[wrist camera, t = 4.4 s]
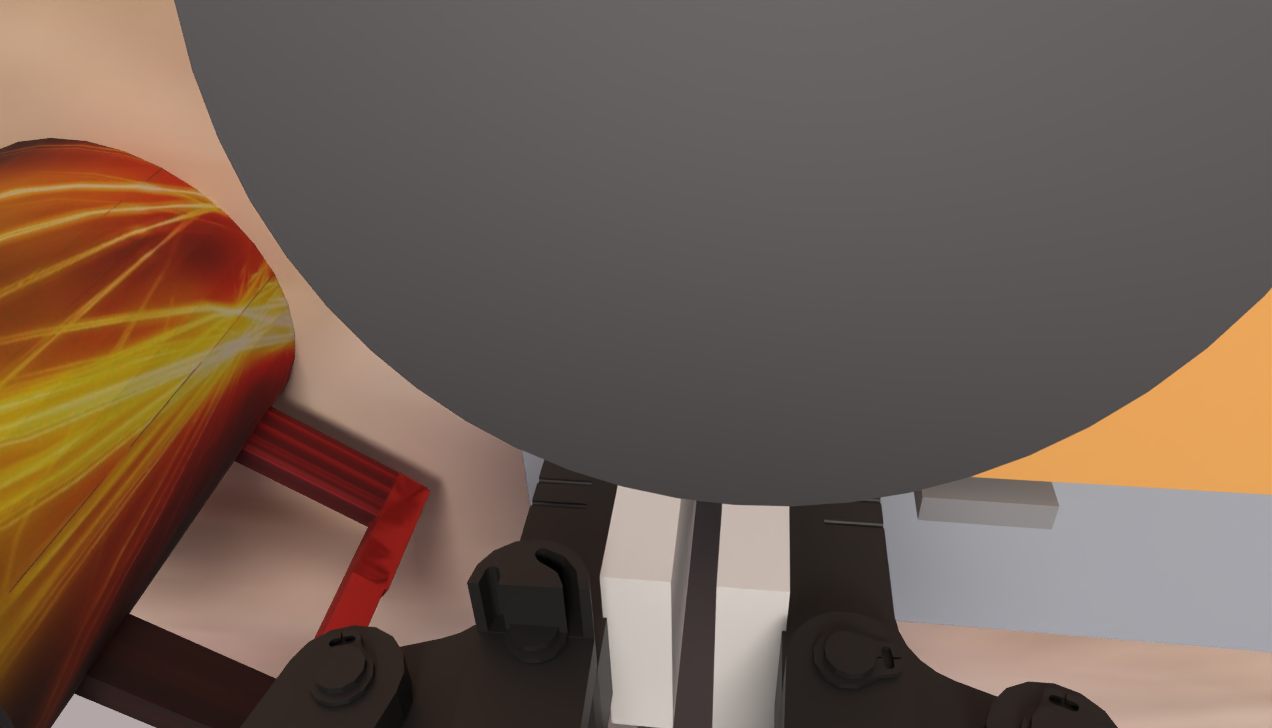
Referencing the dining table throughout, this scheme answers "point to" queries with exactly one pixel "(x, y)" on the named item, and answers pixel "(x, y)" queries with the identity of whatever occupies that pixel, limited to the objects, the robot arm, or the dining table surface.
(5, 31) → the dining table surface
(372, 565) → the mug
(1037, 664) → the dining table surface
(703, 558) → the cylinder
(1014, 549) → the panel
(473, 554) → the dining table surface
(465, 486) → the dining table surface
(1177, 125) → the post
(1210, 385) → the paddle
